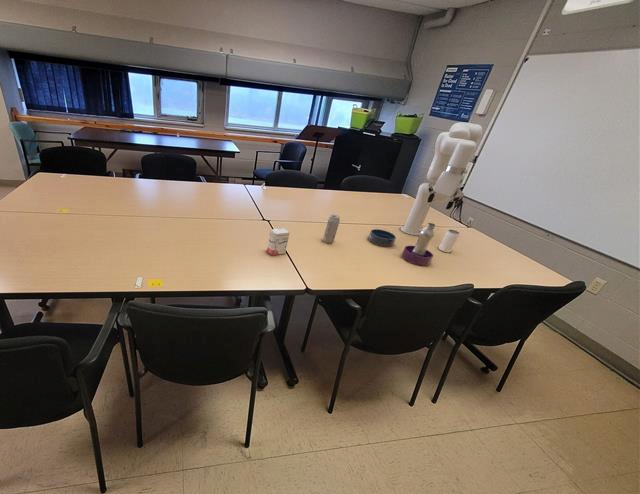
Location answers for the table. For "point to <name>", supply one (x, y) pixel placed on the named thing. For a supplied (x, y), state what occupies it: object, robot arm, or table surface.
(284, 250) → the ink box
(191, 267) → the table surface
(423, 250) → the silver metal bottle
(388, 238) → the blue bowl
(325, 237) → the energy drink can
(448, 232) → the can
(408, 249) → the plum bowl
